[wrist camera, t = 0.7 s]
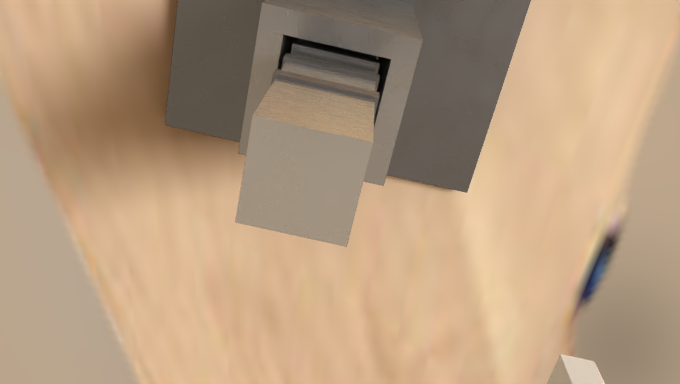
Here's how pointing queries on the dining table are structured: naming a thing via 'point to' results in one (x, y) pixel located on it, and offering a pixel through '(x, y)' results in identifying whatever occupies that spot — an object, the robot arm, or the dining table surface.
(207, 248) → the dining table surface
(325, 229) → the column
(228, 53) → the stand
